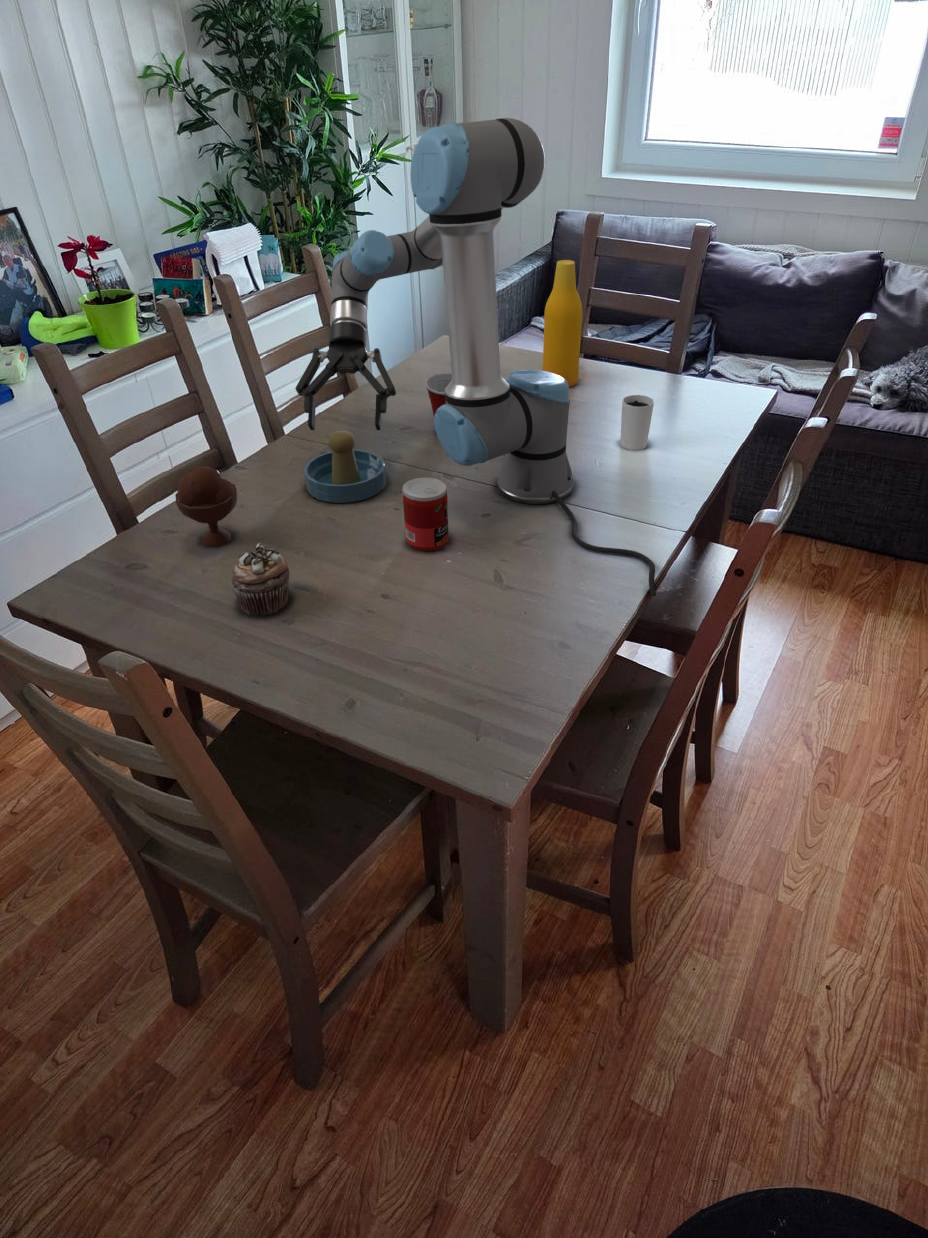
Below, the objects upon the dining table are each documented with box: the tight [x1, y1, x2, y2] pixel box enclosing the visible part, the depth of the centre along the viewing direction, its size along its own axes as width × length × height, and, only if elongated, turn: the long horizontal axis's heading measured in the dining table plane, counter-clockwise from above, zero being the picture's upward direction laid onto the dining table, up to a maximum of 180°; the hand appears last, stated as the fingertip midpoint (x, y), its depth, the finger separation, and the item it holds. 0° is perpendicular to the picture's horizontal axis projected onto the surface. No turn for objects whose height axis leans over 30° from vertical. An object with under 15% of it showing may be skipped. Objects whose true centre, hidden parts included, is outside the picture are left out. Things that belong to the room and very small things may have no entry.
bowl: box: [303, 448, 387, 504], centre depth 171 cm, size 16×16×4 cm
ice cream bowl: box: [174, 465, 238, 547], centre depth 151 cm, size 11×11×15 cm
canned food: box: [402, 477, 450, 552], centre depth 150 cm, size 8×8×11 cm
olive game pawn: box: [328, 430, 361, 485], centre depth 168 cm, size 6×6×11 cm
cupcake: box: [229, 542, 290, 617], centre depth 136 cm, size 10×10×10 cm
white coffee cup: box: [619, 394, 655, 451], centre depth 181 cm, size 7×7×10 cm
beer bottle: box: [541, 259, 583, 388], centre depth 205 cm, size 9×9×29 cm
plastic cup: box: [424, 372, 452, 417], centre depth 187 cm, size 11×11×12 cm
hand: (344, 427), depth 169 cm, fingers open, 13 cm apart
